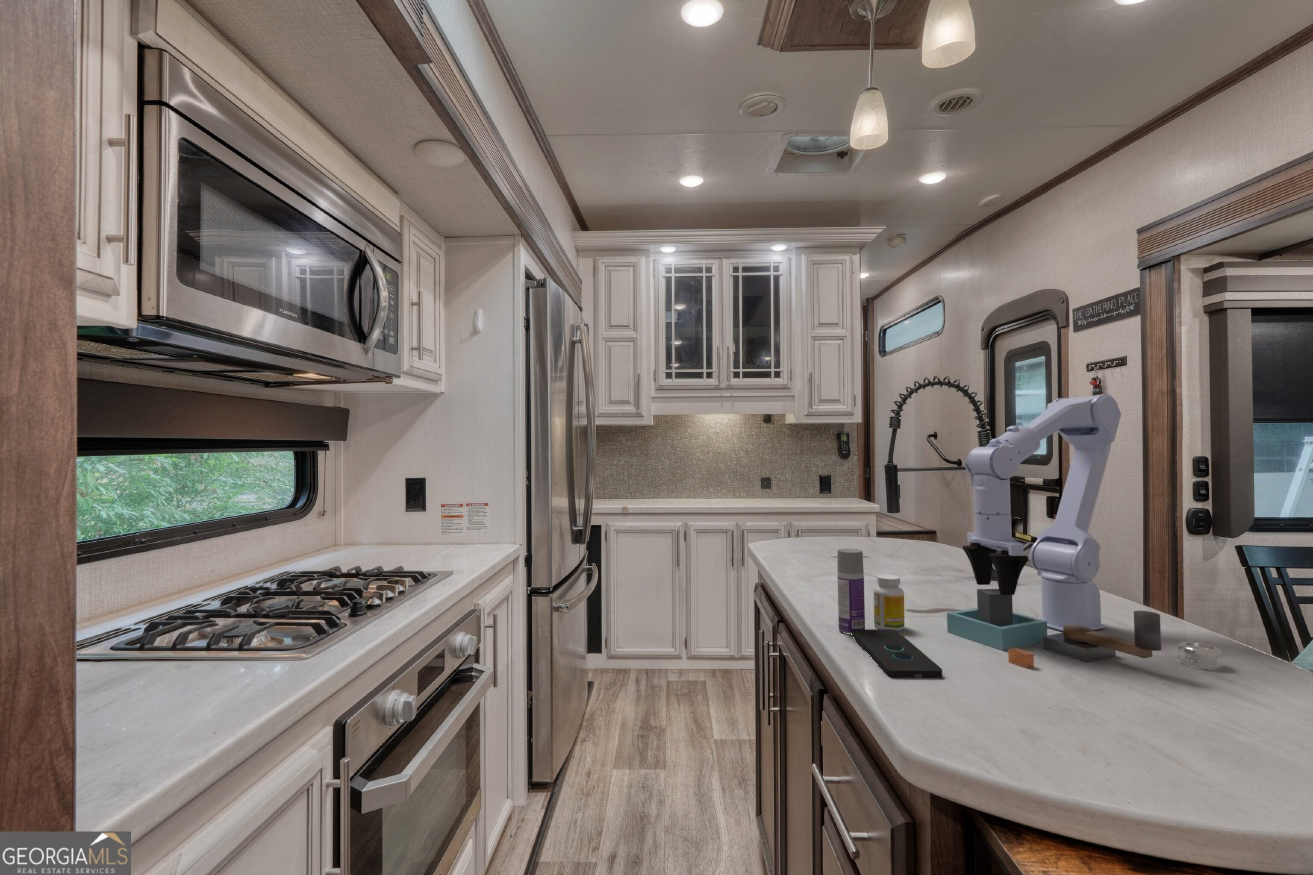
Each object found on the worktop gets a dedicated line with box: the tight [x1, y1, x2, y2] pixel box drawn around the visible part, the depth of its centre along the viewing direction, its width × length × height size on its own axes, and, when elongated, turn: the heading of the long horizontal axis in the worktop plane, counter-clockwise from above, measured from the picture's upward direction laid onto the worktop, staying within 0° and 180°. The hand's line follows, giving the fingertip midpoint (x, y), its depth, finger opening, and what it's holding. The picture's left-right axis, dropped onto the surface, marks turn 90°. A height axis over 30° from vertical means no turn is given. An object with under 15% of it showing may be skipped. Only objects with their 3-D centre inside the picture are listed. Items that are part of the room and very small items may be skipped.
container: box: [837, 548, 866, 634], centre depth 109 cm, size 5×5×15 cm
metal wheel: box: [1177, 641, 1224, 671], centre depth 90 cm, size 5×3×5 cm
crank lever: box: [1062, 610, 1162, 659], centre depth 91 cm, size 14×4×6 cm, turn 22°
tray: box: [946, 607, 1048, 651], centre depth 104 cm, size 11×11×4 cm
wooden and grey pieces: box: [1007, 632, 1117, 669], centre depth 94 cm, size 18×7×2 cm, turn 112°
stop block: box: [976, 588, 1014, 627], centre depth 104 cm, size 4×4×7 cm
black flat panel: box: [851, 628, 943, 679], centre depth 96 cm, size 8×2×20 cm
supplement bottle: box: [873, 574, 905, 632], centre depth 111 cm, size 5×5×10 cm
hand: (994, 589), depth 104 cm, fingers open, 7 cm apart
